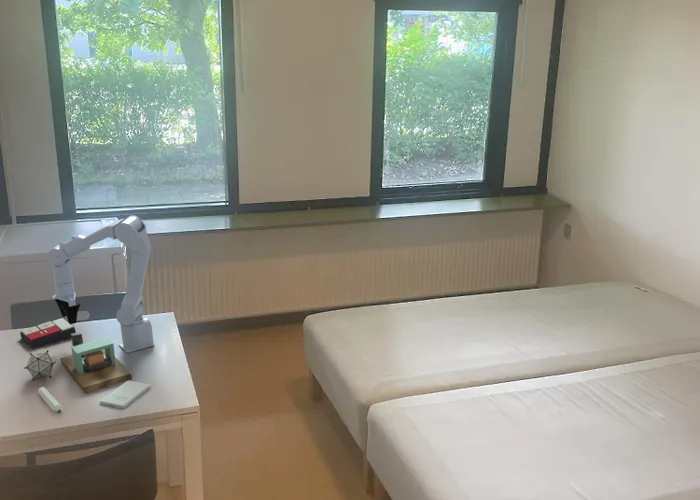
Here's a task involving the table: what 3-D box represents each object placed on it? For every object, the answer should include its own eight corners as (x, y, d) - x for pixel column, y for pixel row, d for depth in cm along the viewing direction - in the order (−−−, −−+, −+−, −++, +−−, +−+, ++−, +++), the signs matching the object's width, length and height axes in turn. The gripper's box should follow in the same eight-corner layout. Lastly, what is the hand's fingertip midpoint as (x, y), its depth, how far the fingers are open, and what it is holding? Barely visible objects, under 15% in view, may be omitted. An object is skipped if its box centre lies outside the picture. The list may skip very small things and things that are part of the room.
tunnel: (109, 357, 214) (107, 337, 212) (115, 363, 210) (113, 343, 208) (74, 367, 208) (71, 347, 206) (79, 374, 204) (76, 353, 201)
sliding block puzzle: (19, 329, 231) (63, 315, 241) (21, 341, 233) (65, 326, 242) (29, 340, 224) (74, 325, 233) (32, 351, 225) (77, 336, 234)
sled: (88, 340, 225) (86, 329, 223) (110, 365, 208) (109, 353, 207) (65, 347, 220) (63, 335, 219) (86, 372, 204) (85, 360, 203)
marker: (61, 418, 186) (41, 395, 197) (67, 412, 187) (47, 390, 198) (55, 413, 184) (35, 390, 196) (61, 407, 185) (41, 385, 197)
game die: (46, 389, 206) (40, 375, 198) (21, 378, 207) (15, 364, 199) (64, 365, 212) (59, 351, 204) (40, 355, 212) (34, 339, 204)
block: (100, 361, 212) (98, 348, 210) (104, 366, 208) (103, 353, 207) (85, 365, 209) (83, 352, 208) (90, 370, 206) (88, 357, 204)
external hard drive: (150, 389, 200) (123, 410, 189) (127, 384, 203) (99, 405, 191) (150, 384, 199) (123, 405, 188) (127, 380, 202) (99, 400, 191)
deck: (105, 351, 223) (104, 345, 222) (131, 378, 205) (131, 373, 204) (61, 363, 215) (60, 357, 214) (84, 393, 197) (83, 387, 196)
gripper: (44, 277, 223) (50, 315, 227) (57, 290, 212) (63, 330, 216) (66, 273, 227) (72, 310, 231) (80, 285, 216) (85, 324, 220)
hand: (69, 319), depth 224 cm, fingers open, 7 cm apart
